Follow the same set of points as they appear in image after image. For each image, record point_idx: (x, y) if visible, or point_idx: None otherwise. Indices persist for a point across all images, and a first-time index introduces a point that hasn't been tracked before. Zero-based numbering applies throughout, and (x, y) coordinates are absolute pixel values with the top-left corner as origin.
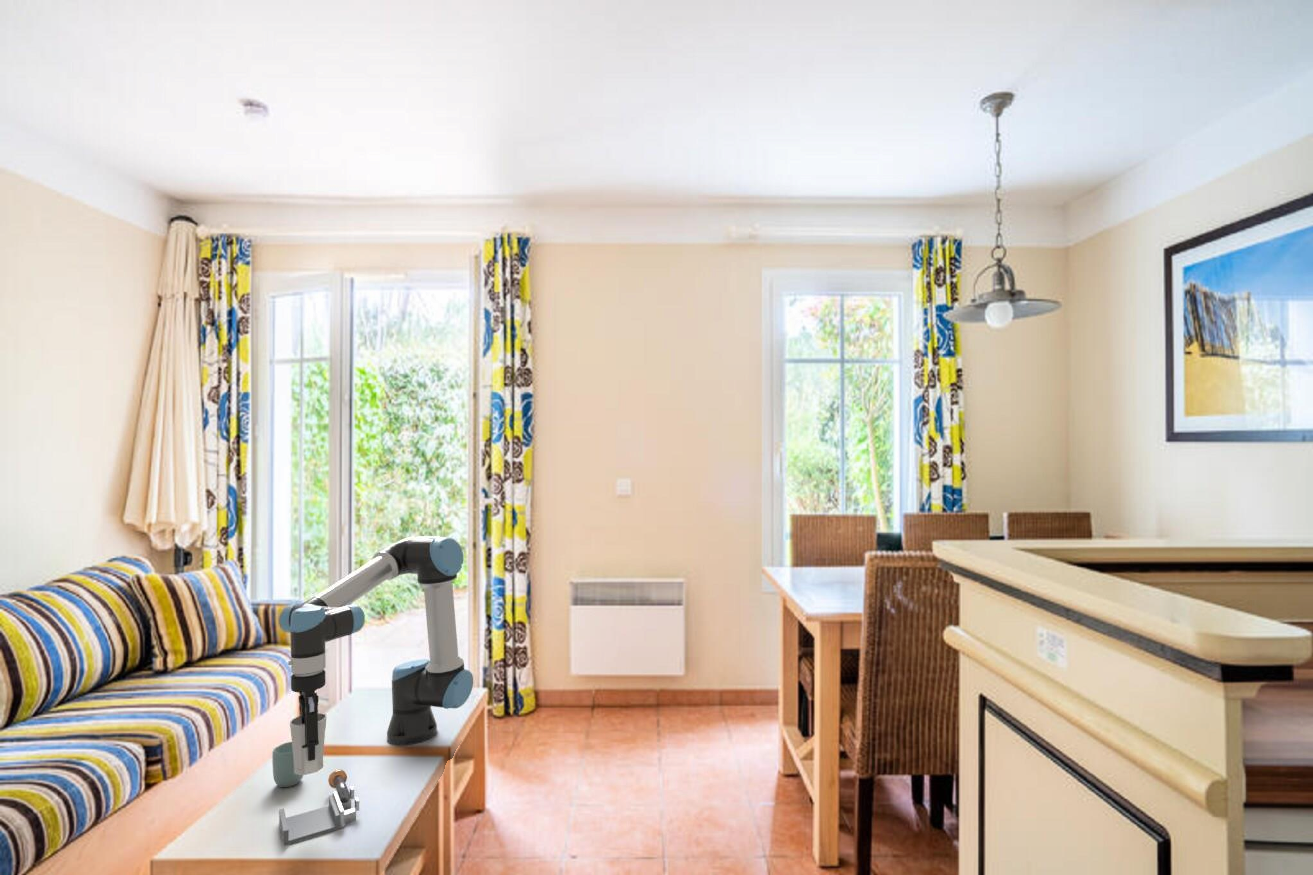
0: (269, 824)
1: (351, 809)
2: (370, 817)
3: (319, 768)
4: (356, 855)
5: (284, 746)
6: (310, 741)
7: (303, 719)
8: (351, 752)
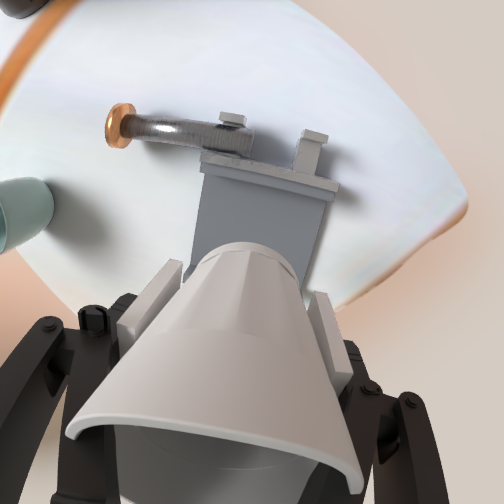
0: (181, 284)
1: (302, 148)
2: (333, 117)
3: (295, 274)
4: (443, 213)
5: None
6: (397, 437)
7: (114, 457)
8: (12, 78)
